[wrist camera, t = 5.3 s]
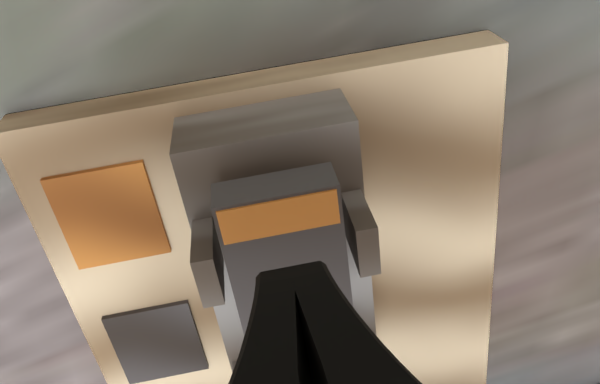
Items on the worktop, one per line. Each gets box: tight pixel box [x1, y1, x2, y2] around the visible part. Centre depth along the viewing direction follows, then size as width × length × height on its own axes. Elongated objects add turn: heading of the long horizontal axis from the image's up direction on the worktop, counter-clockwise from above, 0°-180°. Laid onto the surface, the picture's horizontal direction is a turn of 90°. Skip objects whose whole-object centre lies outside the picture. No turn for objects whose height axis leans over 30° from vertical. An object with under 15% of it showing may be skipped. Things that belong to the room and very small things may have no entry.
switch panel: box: [0, 30, 509, 384], centre depth 21 cm, size 19×16×6 cm
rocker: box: [211, 162, 353, 335], centre depth 15 cm, size 5×3×1 cm
